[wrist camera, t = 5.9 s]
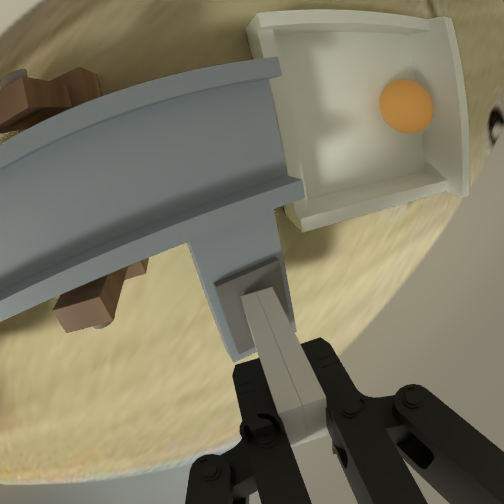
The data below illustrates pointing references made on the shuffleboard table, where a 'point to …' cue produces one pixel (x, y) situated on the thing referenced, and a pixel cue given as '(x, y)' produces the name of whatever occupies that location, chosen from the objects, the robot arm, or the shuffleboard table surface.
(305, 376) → the robot arm
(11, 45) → the shuffleboard table surface
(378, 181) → the tray
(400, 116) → the ball
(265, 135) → the lever
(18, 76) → the fulcrum
